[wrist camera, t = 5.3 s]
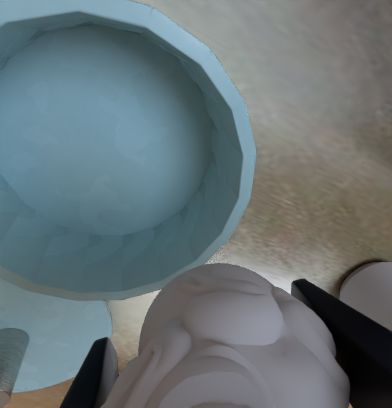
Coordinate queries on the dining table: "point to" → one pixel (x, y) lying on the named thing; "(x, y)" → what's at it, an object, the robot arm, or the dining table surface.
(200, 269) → the grey carved lump
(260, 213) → the dining table surface
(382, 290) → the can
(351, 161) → the dining table surface
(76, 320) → the lid
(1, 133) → the pot
